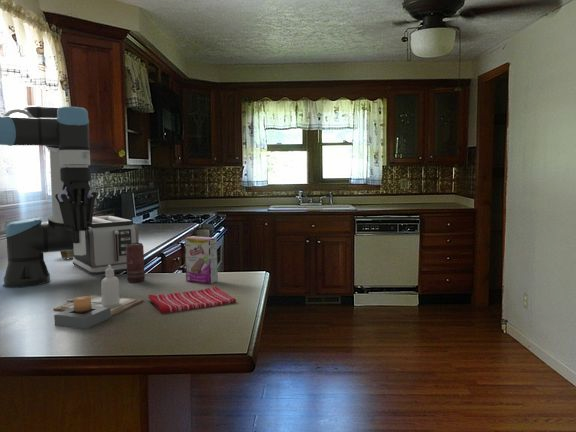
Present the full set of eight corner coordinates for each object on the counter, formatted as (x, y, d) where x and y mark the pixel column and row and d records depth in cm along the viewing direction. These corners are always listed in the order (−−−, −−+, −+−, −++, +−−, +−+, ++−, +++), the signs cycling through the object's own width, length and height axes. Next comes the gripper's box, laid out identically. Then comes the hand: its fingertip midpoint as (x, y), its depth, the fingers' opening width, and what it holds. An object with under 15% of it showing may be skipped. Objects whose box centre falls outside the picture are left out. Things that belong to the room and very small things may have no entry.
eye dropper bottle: (99, 304, 145) (97, 265, 144) (117, 300, 149) (116, 262, 148) (103, 307, 142) (102, 267, 141) (122, 304, 145) (121, 264, 144)
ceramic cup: (83, 258, 225) (82, 237, 224) (59, 260, 219) (58, 239, 218) (77, 254, 236) (76, 234, 235) (55, 256, 230) (54, 236, 229)
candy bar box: (185, 281, 177) (184, 237, 175) (193, 278, 182) (192, 235, 180) (210, 284, 172) (209, 239, 171) (218, 281, 177) (217, 237, 175)
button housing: (54, 325, 128) (54, 314, 128) (81, 314, 138) (81, 304, 137) (85, 329, 125) (84, 317, 125) (110, 317, 135) (110, 307, 134)
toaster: (94, 277, 185) (91, 225, 183) (70, 264, 212) (68, 218, 210) (142, 270, 197) (140, 221, 195) (114, 258, 224) (112, 215, 222)
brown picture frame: (49, 310, 142) (49, 306, 142) (87, 296, 158) (87, 292, 158) (110, 316, 136) (110, 312, 136) (143, 301, 151) (143, 297, 151)
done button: (70, 310, 130) (69, 299, 129) (81, 306, 134) (81, 295, 134) (83, 312, 128) (83, 301, 128) (95, 307, 133) (94, 296, 132)
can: (140, 283, 175) (138, 245, 174) (124, 282, 176) (122, 244, 175) (148, 279, 181) (146, 242, 180) (132, 278, 182) (131, 242, 181)
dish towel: (147, 302, 152) (146, 293, 152) (218, 292, 163) (217, 284, 163) (159, 316, 137) (159, 307, 137) (236, 304, 148) (236, 296, 148)
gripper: (68, 166, 120) (73, 259, 122) (103, 166, 132) (107, 251, 134) (44, 166, 122) (50, 258, 124) (81, 167, 135) (85, 250, 137)
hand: (80, 254), depth 129 cm, fingers closed
